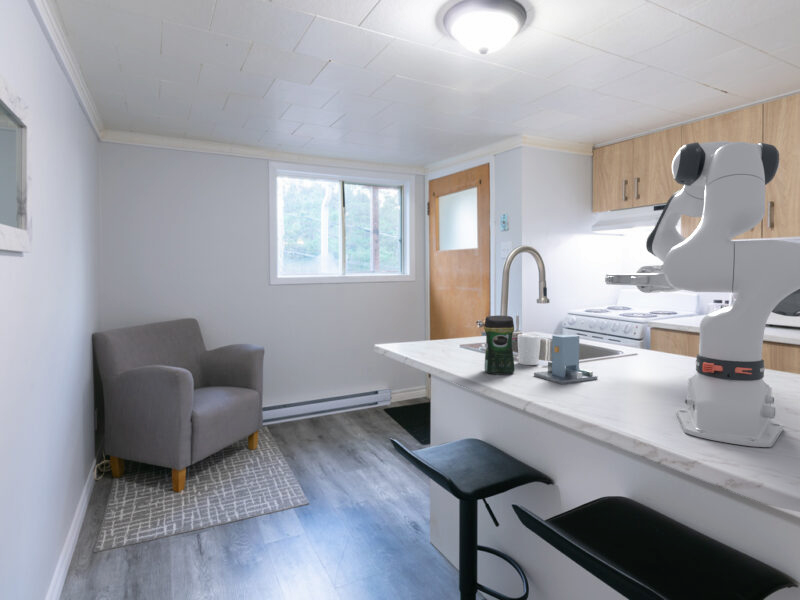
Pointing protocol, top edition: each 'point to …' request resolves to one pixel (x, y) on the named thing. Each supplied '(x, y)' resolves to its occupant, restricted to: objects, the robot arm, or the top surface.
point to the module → (565, 353)
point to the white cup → (529, 349)
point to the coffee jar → (499, 344)
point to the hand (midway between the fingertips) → (619, 279)
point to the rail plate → (566, 375)
